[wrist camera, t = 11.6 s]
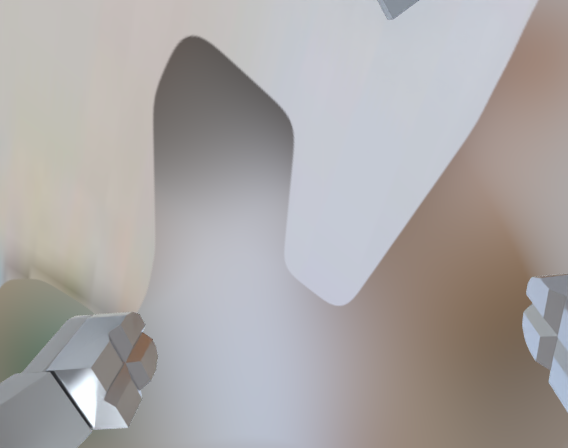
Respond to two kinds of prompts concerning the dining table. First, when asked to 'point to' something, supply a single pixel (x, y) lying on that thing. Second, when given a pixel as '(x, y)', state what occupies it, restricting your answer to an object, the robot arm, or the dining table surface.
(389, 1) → the scale
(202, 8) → the dining table surface
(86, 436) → the robot arm
